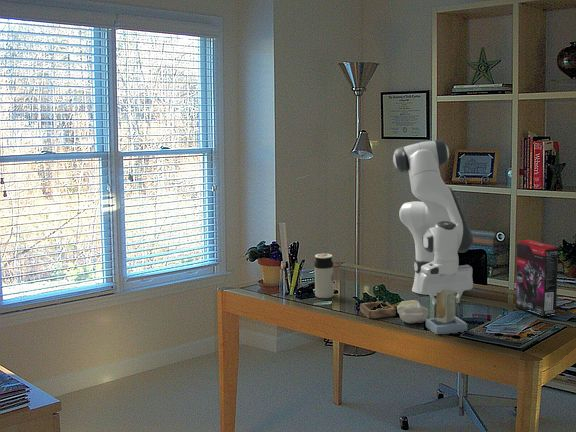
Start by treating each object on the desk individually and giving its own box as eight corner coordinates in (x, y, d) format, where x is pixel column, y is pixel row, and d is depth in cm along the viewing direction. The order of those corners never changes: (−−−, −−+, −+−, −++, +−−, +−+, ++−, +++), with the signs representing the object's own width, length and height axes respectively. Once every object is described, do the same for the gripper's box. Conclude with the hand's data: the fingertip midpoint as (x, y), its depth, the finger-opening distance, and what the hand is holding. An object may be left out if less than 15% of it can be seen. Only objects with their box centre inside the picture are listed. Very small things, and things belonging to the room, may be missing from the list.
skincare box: (445, 317, 293) (446, 285, 291) (455, 319, 290) (456, 287, 288) (435, 321, 289) (436, 288, 287) (445, 323, 286) (446, 291, 284)
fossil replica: (434, 322, 300) (414, 318, 308) (434, 300, 299) (414, 297, 307) (412, 326, 292) (393, 322, 300) (412, 304, 292) (392, 301, 300)
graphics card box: (513, 307, 314) (515, 240, 310) (527, 305, 317) (529, 238, 312) (543, 319, 299) (545, 248, 294) (557, 316, 301) (559, 246, 297)
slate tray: (455, 323, 296) (455, 316, 296) (467, 331, 287) (467, 323, 286) (425, 326, 294) (425, 319, 293) (436, 335, 284) (436, 327, 284)
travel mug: (312, 297, 338) (311, 256, 334) (320, 292, 345) (319, 252, 341) (329, 299, 334) (328, 258, 331) (336, 294, 341) (335, 254, 338)
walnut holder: (385, 308, 319) (385, 301, 318) (395, 315, 308) (395, 308, 308) (360, 310, 316) (359, 303, 316) (369, 318, 306) (368, 311, 305)
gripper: (468, 262, 291) (468, 298, 294) (416, 266, 287) (416, 303, 289) (476, 266, 285) (475, 303, 288) (423, 270, 281) (423, 308, 283)
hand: (445, 303), depth 289 cm, fingers closed on skincare box, 7 cm apart
